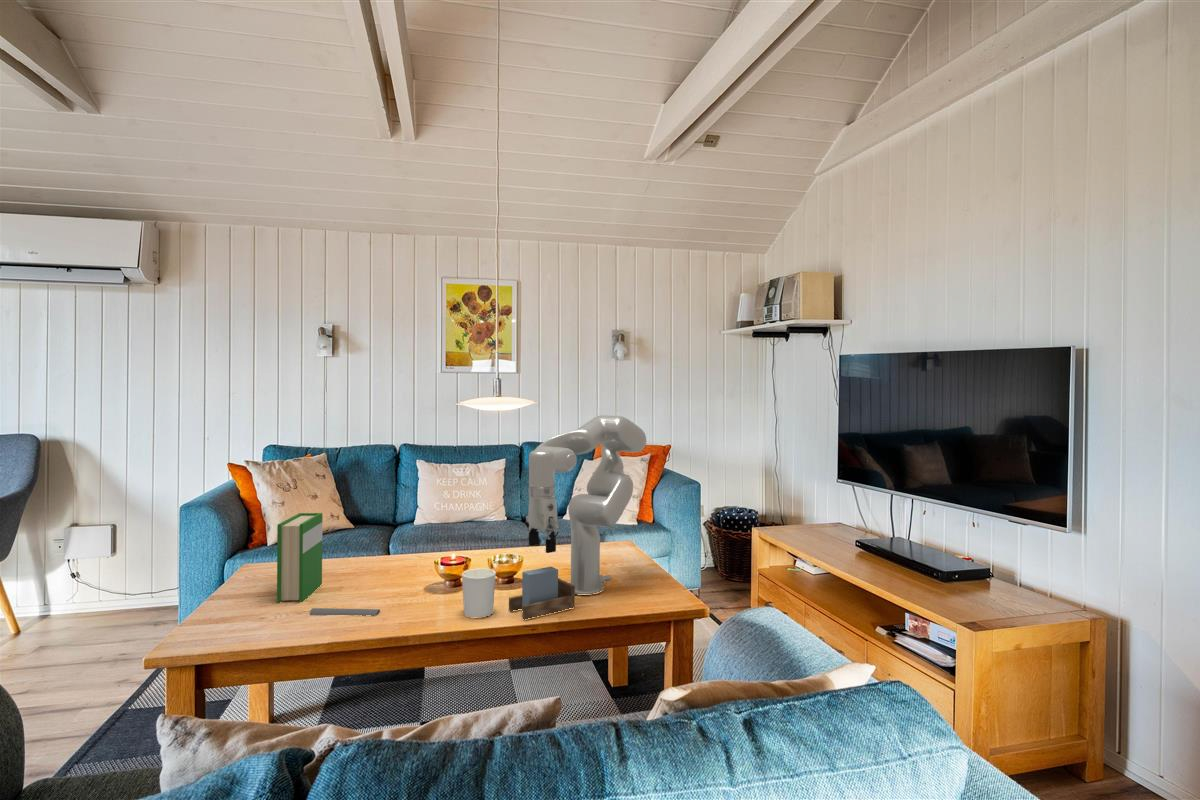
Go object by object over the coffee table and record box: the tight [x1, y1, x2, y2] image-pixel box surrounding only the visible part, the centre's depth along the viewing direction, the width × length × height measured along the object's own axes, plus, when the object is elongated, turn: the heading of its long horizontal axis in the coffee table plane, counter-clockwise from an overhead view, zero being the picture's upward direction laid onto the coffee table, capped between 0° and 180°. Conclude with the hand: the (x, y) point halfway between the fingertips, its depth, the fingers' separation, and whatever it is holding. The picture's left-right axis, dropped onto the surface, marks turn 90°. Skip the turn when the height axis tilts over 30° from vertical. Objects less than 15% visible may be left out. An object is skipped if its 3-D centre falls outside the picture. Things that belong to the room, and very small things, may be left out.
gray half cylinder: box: [309, 607, 381, 617], centre depth 181 cm, size 4×20×2 cm, turn 89°
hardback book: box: [276, 512, 323, 604], centre depth 198 cm, size 18×7×24 cm, turn 6°
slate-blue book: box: [521, 566, 559, 612], centre depth 186 cm, size 10×4×12 cm, turn 127°
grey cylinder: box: [461, 567, 497, 618], centre depth 183 cm, size 10×10×12 cm
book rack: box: [508, 577, 576, 621], centre depth 186 cm, size 17×9×7 cm, turn 127°
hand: (542, 548), depth 186 cm, fingers open, 9 cm apart
